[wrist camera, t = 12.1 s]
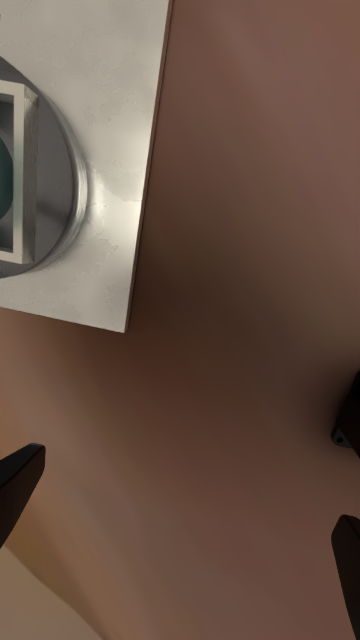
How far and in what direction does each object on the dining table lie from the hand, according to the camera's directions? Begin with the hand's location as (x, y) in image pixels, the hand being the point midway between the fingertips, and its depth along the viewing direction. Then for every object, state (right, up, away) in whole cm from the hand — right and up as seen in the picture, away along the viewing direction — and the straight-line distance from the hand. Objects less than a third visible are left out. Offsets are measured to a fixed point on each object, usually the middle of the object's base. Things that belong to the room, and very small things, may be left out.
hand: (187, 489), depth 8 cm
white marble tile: (-10, +16, +10) cm, 22 cm away
